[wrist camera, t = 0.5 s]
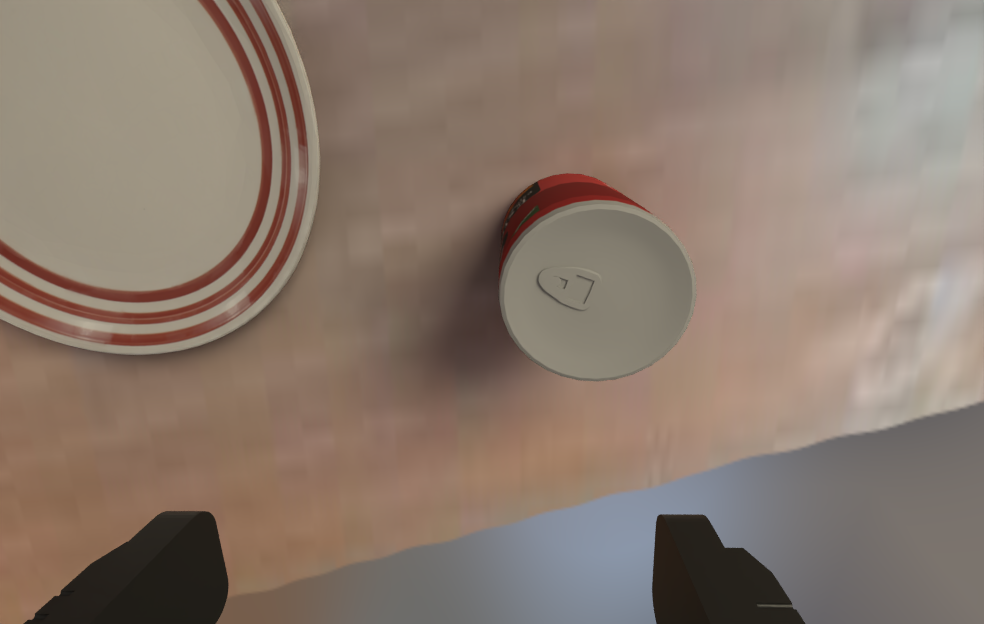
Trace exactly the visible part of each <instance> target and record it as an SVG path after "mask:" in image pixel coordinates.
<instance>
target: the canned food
mask: <svg viewBox="0 0 984 624" xmlns="http://www.w3.org/2000/svg"><path fill="white" fill-rule="evenodd" d="M498 289H499V296H498V298H499V303H500V308H501V314H502V316H503V320H504V322H505V325H506V327H507V330H508V332H509V334H510V336H511V337H512V339H513V340H514V342H515V343H516V344H517V346H518V347H519V349H520V350H521V351H522V352H524V353H525V354H526V355H527V356H528V357H529V358H530V359H531V360H532V361H534V362H535V363H537V364H538V365H540V366H541V367H543V368H544V369H546V370H548V371H551V372H553V373H555V374H558V375H560V376H563V377H567V378H572V379H576V380H584V381H604V380H614V379H618V378H622V377H625V376H629V375H632V374H635V373H637V372H639V371H641V370H643V369H645V368H647V367H649V366H651V365H652V364H654V363H655V362H657V361H658V360H659V359H661V358H662V357H664V356H665V355H666V354H667V353H668V352H669V351H670V350H671V349H672V348H673V347H674V346H675V345H676V344H677V342H678V341H679V339H680V338H681V336H682V335H683V333H684V332H685V330H686V329H687V326H688V324H689V322H690V319H691V317H692V315H693V311H694V306H695V301H696V277H695V273H694V269H693V265H692V261H691V259H690V257H689V255H688V253H687V251H686V249H685V247H684V245H683V244H682V243H681V242H680V240H679V239H678V238H677V236H676V235H675V234H674V233H673V232H672V230H671V229H670V228H669V227H668V226H667V225H666V224H664V223H663V222H662V221H661V220H659V219H658V218H657V217H655V216H654V215H653V214H651V213H650V212H649V211H648V210H646V209H645V208H643V207H642V206H640V205H639V204H637V203H635V202H634V201H632V200H631V199H629V198H628V197H626V196H625V195H623V194H621V193H620V192H618V191H617V190H615V189H614V188H612V187H611V186H609V185H608V184H606V183H604V182H602V181H600V180H598V179H596V178H593V177H589V176H585V175H582V174H560V175H553V176H550V177H547V178H544V179H542V180H539V181H538V182H536V183H534V184H532V185H531V186H529V187H528V188H527V189H525V190H524V191H523V192H522V193H521V194H520V195H519V196H518V197H517V198H516V200H515V201H514V202H513V204H512V205H511V206H510V208H509V210H508V212H507V215H506V217H505V220H504V224H503V228H502V236H501V250H500V264H499V285H498Z"/></svg>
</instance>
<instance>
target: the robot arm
mask: <svg viewBox="0 0 984 624" xmlns="http://www.w3.org/2000/svg"><path fill="white" fill-rule="evenodd" d="M655 533H656V534H655V549H654V550H655V551H654V566H653V583H652V593H653V606H654V613H655V618H656V623H657V624H805V622H804V621H803V619H802V618H801V616H800V615H799V613H798V612H797V610H794V609H793V607H792V603H791V601H790V600H789V598H788V596H787V595H786V593H785V592H784V590H783V589H782V587H781V586H780V584H779V582H778V581H777V580H776V578H775V576H774V575H773V573H772V572H771V571H769V570H768V569H767V568H766V567H765V566H764V565H762V564H761V563H760V562H759V561H758V560H756V559H755V558H754V557H753V556H752V555H751V554H749V553H748V552H747V551H746V550H745V549H744V548H725V547H724V546H723V544H722V542H721V540H720V539H719V537H718V535H717V533H716V532H715V530H714V528H713V526H712V525H711V523H710V521H709V520H708V518H707V517H706V516H704V515H659V516H658V517H657V521H656V532H655ZM227 594H228V577H227V572H226V567H225V563H224V558H223V553H222V549H221V544H220V539H219V534H218V530H217V525H216V521H215V518H214V516H213V515H212V514H211V513H209V512H206V511H166V512H163V513H161V514H159V515H157V516H156V517H155V518H154V519H153V520H151V521H150V522H149V523H148V524H147V525H146V526H145V527H144V528H143V529H142V530H141V531H139V532H138V533H137V534H136V535H135V536H134V537H133V538H132V539H131V540H130V541H129V542H126V543H124V544H123V545H121V546H119V547H118V548H116V549H114V550H113V551H111V552H110V553H108V554H106V555H105V556H103V557H101V558H100V559H98V560H96V561H95V562H93V563H92V564H90V565H89V566H88V567H87V568H86V569H85V570H84V571H82V572H81V573H80V574H79V575H78V576H77V577H76V578H75V579H73V580H72V581H71V582H70V583H69V584H68V585H67V586H66V587H64V588H63V589H62V590H61V594H60V595H59V596H54V597H53V598H52V599H51V600H50V601H49V602H48V603H46V604H45V605H44V606H43V607H42V608H41V609H40V610H39V611H37V612H36V613H35V617H34V619H33V620H27V621H26V622H25V623H24V624H215V623H216V622H217V621H218V619H219V617H220V615H221V613H222V611H223V608H224V606H225V602H226V599H227Z"/></svg>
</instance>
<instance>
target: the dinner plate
mask: <svg viewBox="0 0 984 624" xmlns="http://www.w3.org/2000/svg"><path fill="white" fill-rule="evenodd" d="M319 177H320V150H319V137H318V128H317V120H316V114H315V108H314V103H313V98H312V95H311V89H310V85H309V81H308V78H307V74H306V71H305V68H304V65H303V62H302V59H301V56H300V54H299V51H298V48H297V46H296V43H295V40H294V38H293V35H292V32H291V30H290V28H289V26H288V24H287V21H286V19H285V17H284V15H283V13H282V11H281V9H280V7H279V5H278V3H277V1H276V0H0V319H2V320H4V321H6V322H8V323H10V324H12V325H14V326H17V327H19V328H21V329H23V330H26V331H28V332H30V333H33V334H35V335H38V336H41V337H44V338H47V339H49V340H52V341H56V342H59V343H62V344H65V345H69V346H73V347H77V348H81V349H86V350H91V351H97V352H104V353H113V354H125V355H148V354H161V353H169V352H175V351H181V350H185V349H189V348H193V347H197V346H200V345H203V344H206V343H209V342H212V341H214V340H216V339H219V338H221V337H223V336H225V335H227V334H229V333H231V332H233V331H234V330H236V329H238V328H239V327H241V326H243V325H244V324H246V323H247V322H249V321H250V320H251V319H252V318H254V317H255V316H256V315H258V314H259V313H260V312H261V311H262V310H263V309H264V308H265V307H266V306H268V305H269V303H270V302H271V301H272V300H273V299H274V298H275V297H276V296H277V295H278V293H279V292H280V291H281V290H282V289H283V287H284V286H285V285H286V283H287V282H288V279H289V278H290V277H291V275H292V274H293V272H294V270H295V269H296V267H297V265H298V262H299V260H300V258H301V256H302V254H303V251H304V249H305V246H306V244H307V241H308V238H309V235H310V232H311V228H312V225H313V220H314V216H315V211H316V206H317V199H318V190H319Z"/></svg>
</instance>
